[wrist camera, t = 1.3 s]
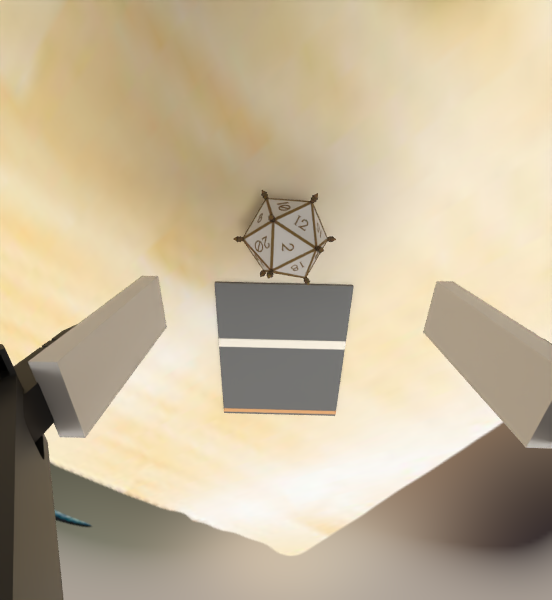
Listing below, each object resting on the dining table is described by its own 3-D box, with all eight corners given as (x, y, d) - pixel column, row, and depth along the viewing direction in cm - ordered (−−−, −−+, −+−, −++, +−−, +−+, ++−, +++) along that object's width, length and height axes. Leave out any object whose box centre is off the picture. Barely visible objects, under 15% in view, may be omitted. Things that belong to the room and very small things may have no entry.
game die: (282, 242, 35) (251, 307, 30) (247, 180, 29) (201, 247, 24) (354, 232, 30) (332, 308, 25) (328, 155, 24) (293, 233, 19)
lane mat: (215, 281, 33) (214, 283, 33) (352, 285, 33) (353, 286, 32) (224, 410, 41) (224, 413, 41) (334, 413, 41) (335, 416, 41)
